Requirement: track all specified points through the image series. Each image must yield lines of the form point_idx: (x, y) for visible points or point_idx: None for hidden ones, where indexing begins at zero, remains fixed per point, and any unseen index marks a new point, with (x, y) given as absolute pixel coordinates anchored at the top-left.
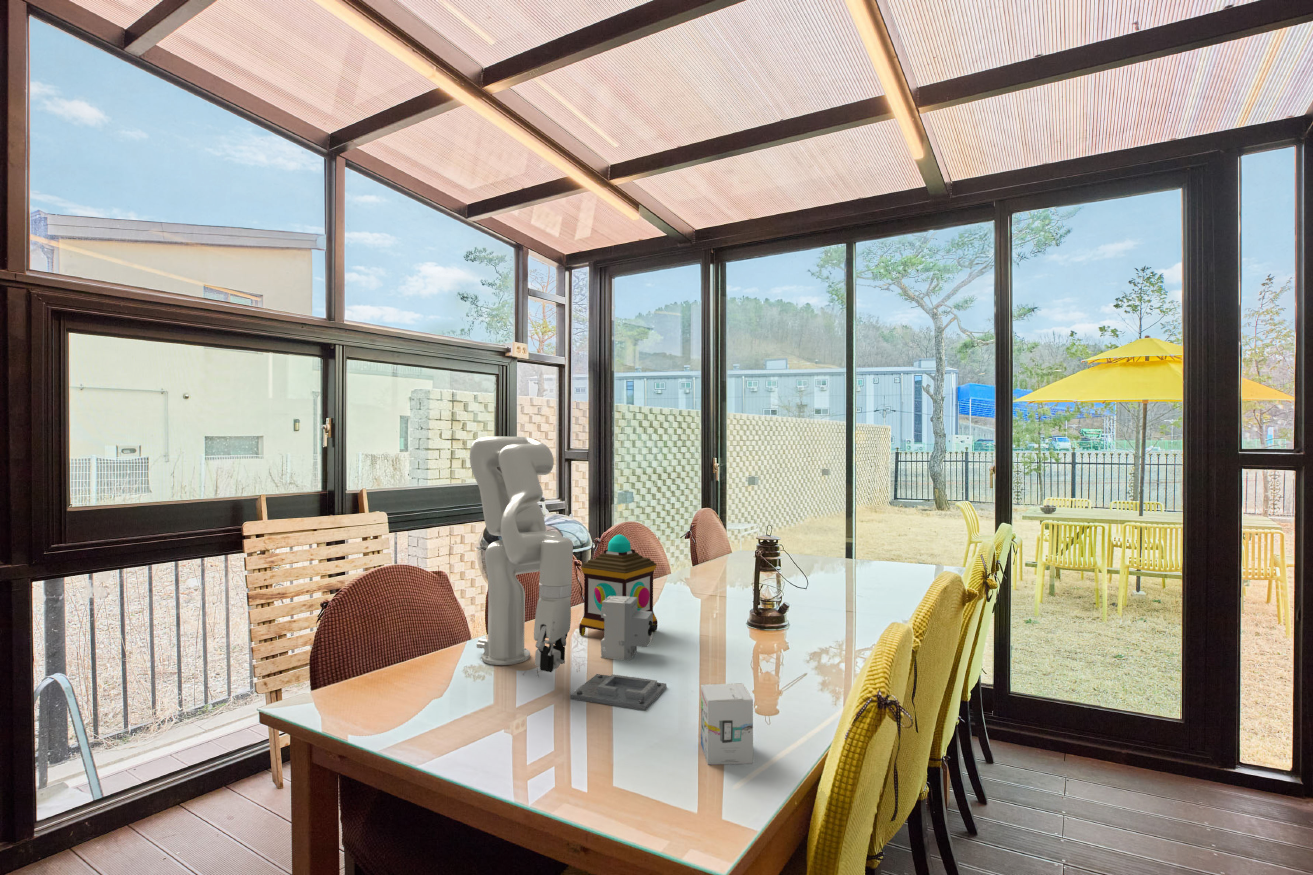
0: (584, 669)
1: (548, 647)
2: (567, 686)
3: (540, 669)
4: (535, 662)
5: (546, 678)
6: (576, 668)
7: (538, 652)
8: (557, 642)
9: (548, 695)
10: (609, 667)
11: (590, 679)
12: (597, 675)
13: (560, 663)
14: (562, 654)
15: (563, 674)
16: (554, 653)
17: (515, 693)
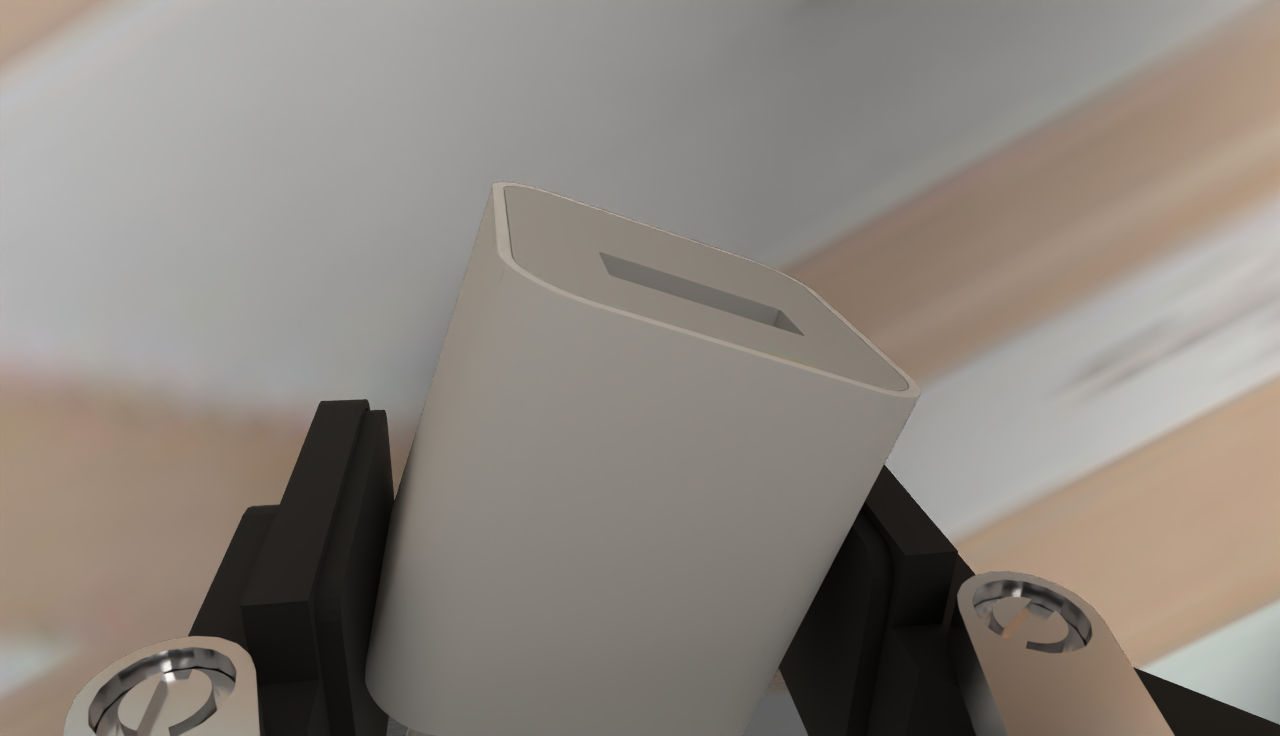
0: (1156, 411)
1: (811, 490)
2: None
3: (324, 406)
4: (487, 205)
5: (793, 138)
6: (1178, 315)
7: (464, 379)
8: (957, 731)
9: (272, 468)
10: (1230, 597)
11: (790, 697)
12: None
13: None
14: (791, 679)
15: (971, 273)
16: (567, 730)
17: (87, 2)
